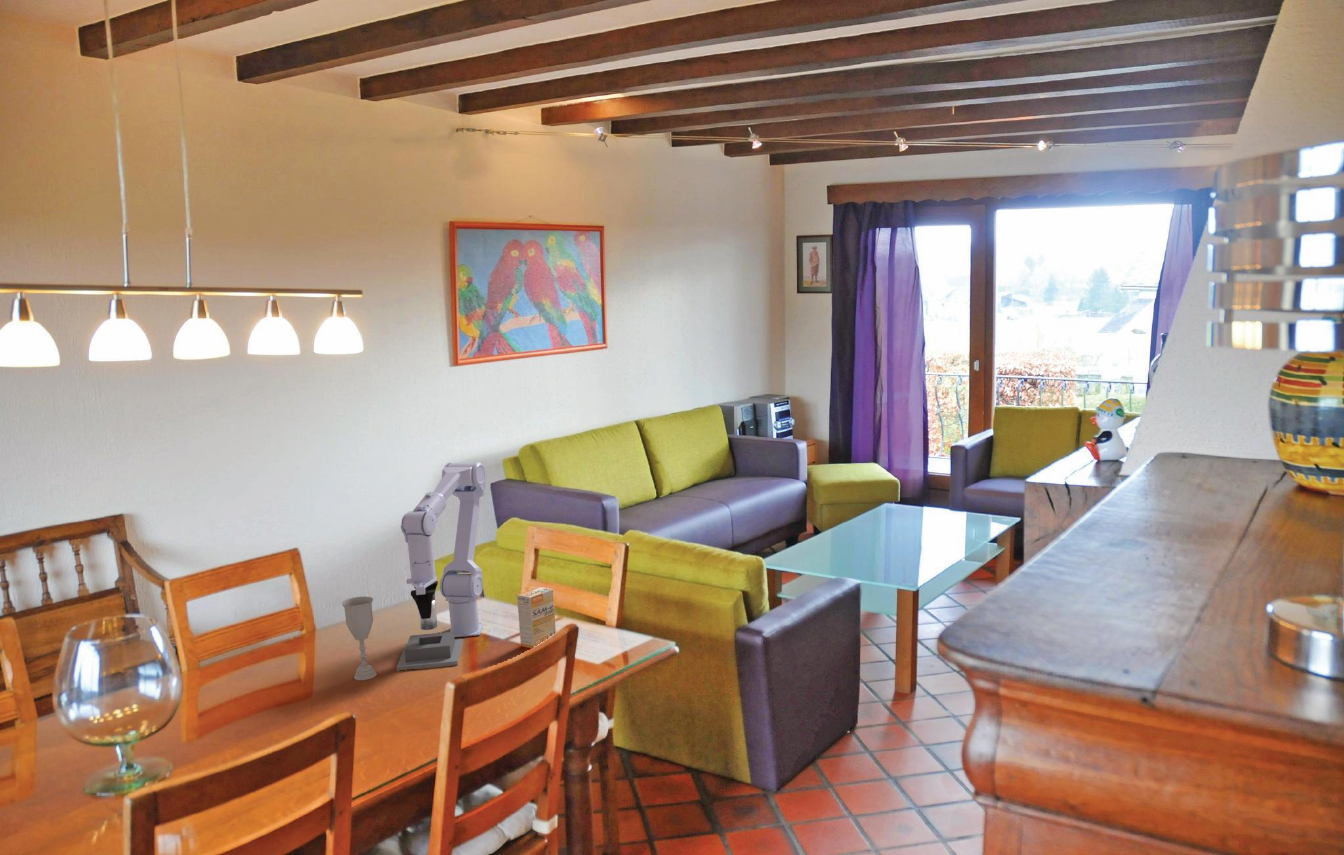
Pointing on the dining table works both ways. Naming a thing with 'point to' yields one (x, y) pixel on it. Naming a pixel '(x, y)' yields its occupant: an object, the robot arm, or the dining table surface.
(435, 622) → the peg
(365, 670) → the chalice
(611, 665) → the dining table surface
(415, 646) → the socket mount
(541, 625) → the supplement box
